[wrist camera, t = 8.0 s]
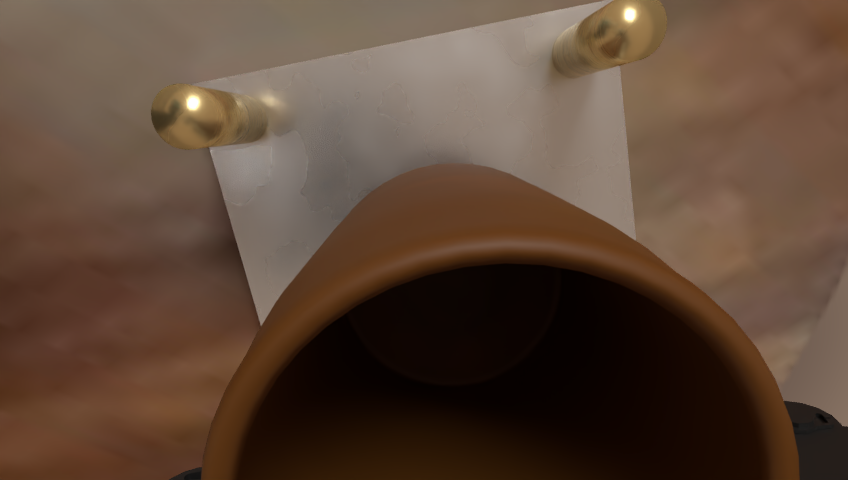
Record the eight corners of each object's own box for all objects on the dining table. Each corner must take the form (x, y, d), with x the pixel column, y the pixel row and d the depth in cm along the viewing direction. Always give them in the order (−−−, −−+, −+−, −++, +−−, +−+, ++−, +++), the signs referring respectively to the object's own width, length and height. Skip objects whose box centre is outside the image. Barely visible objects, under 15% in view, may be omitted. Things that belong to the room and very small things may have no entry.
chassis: (324, 498, 24) (292, 630, 18) (207, 87, 20) (109, 69, 13) (641, 441, 24) (724, 554, 18) (598, 8, 19) (688, -49, 13)
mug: (529, 516, 17) (658, 976, 8) (311, 497, 17) (180, 948, 8) (596, 174, 14) (913, 262, 5) (337, 144, 14) (179, 180, 5)
